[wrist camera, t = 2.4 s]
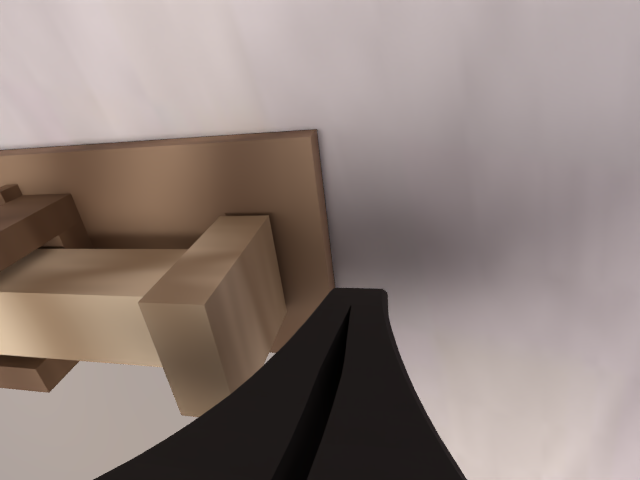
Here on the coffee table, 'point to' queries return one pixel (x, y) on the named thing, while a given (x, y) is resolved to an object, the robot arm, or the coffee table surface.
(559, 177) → the coffee table surface
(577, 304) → the coffee table surface
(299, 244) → the jig
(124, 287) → the shaft
